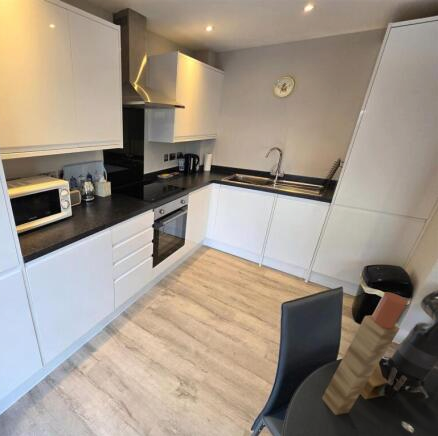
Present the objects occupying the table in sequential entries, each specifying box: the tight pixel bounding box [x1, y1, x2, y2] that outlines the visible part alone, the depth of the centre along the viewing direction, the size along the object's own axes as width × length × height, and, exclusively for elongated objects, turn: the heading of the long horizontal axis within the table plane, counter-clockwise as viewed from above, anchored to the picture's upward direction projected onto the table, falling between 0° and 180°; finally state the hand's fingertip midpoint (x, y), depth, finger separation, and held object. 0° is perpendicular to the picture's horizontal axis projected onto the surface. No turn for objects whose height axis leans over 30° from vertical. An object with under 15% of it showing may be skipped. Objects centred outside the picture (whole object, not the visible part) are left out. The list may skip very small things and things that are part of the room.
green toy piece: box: [378, 384, 395, 402], centre depth 79 cm, size 5×3×5 cm, turn 101°
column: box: [321, 314, 401, 416], centre depth 71 cm, size 5×5×35 cm
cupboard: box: [359, 363, 388, 400], centre depth 83 cm, size 12×7×7 cm, turn 101°
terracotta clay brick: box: [371, 291, 409, 329], centre depth 63 cm, size 4×4×8 cm
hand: (389, 394), depth 77 cm, fingers closed
